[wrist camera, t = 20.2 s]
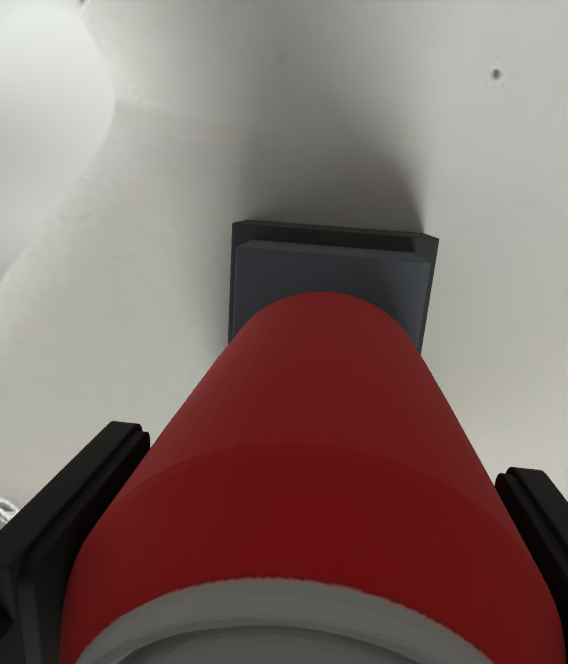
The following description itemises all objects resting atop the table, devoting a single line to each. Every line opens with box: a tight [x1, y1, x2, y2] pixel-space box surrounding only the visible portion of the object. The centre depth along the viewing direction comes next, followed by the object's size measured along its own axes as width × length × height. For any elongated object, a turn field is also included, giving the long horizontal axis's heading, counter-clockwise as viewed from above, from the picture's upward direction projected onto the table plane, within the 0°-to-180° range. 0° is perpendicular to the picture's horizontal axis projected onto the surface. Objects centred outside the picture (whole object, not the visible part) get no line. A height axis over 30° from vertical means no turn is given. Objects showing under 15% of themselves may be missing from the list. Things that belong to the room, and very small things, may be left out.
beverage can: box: [59, 291, 567, 664], centre depth 10 cm, size 7×7×12 cm
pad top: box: [233, 240, 431, 348], centre depth 18 cm, size 9×6×3 cm
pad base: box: [228, 220, 439, 355], centre depth 21 cm, size 10×8×3 cm
